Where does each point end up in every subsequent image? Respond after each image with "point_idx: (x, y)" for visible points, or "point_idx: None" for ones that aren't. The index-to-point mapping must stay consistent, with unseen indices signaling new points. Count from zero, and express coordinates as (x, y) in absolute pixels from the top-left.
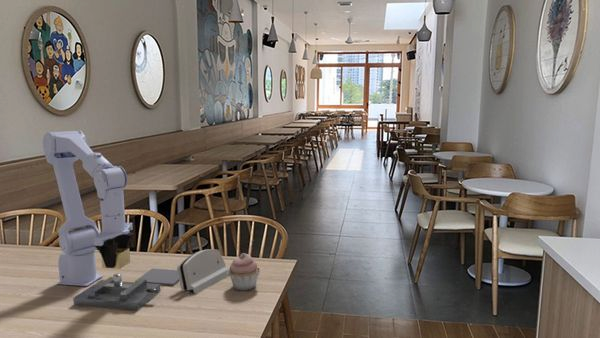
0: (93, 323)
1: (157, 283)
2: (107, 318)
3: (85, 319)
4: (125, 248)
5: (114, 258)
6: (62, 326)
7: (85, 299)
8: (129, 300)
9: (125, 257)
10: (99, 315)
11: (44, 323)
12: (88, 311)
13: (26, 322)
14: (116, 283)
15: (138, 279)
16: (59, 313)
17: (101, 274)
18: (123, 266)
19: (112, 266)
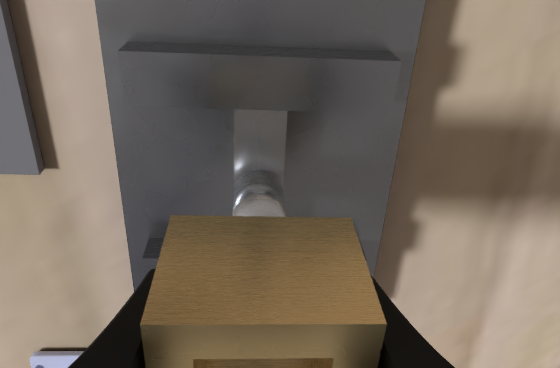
0: (550, 121)
1: (5, 14)
2: (503, 82)
3: (501, 179)
4: (168, 354)
5: (387, 322)
6: (557, 231)
7: (374, 270)
8: (393, 31)
9: (246, 265)
10: (464, 140)
11: (518, 303)
12: (418, 211)
13: (501, 357)
14: (283, 198)
15: (11, 166)
16: (434, 304)
17: (33, 363)
18: (289, 218)
19: (373, 281)
